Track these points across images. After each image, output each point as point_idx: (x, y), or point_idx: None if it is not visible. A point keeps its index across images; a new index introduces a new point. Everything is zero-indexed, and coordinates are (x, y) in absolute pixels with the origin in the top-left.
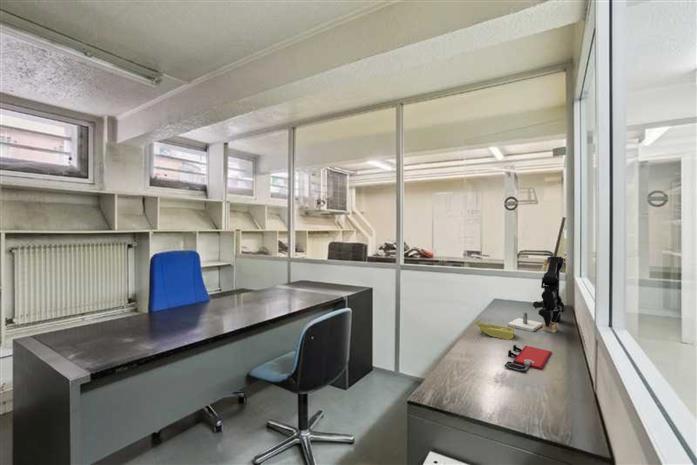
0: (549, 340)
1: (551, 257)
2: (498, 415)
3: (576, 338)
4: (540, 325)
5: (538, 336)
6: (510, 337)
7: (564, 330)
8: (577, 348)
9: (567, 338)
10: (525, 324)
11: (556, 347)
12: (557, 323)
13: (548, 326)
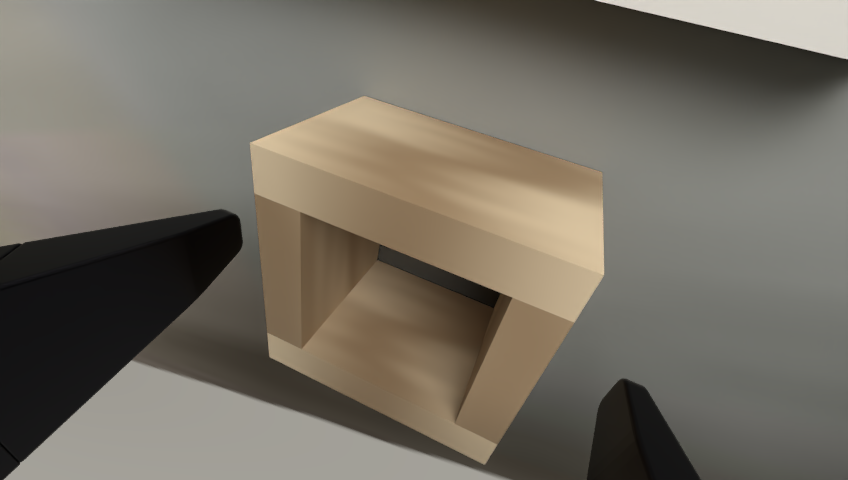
0: (76, 190)
1: None
2: None
3: (313, 415)
4: (654, 13)
5: (61, 58)
6: None
7: (547, 412)
8: None
9: (258, 352)
10: None
11: (14, 231)
12: (462, 449)
13: (222, 252)
